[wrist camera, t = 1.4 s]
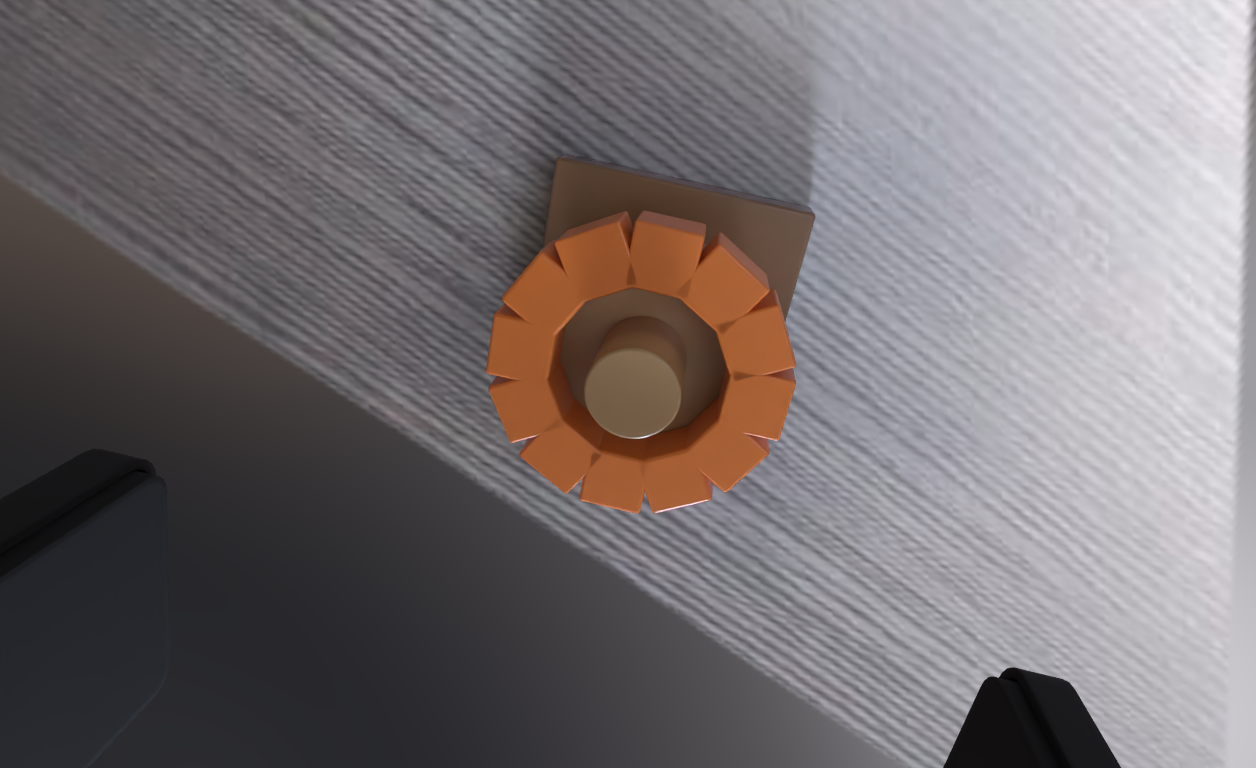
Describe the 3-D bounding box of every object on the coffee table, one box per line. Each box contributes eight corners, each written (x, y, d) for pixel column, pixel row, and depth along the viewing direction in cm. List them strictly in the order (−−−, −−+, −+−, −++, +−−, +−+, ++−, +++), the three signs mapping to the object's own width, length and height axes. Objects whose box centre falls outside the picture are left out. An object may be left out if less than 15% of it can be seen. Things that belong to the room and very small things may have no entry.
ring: (526, 183, 17) (510, 191, 16) (824, 249, 17) (833, 263, 16) (487, 450, 20) (470, 476, 18) (747, 511, 19) (748, 541, 18)
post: (564, 152, 22) (487, 186, 15) (812, 207, 22) (853, 267, 15) (527, 382, 25) (446, 502, 17) (748, 433, 24) (756, 576, 17)
